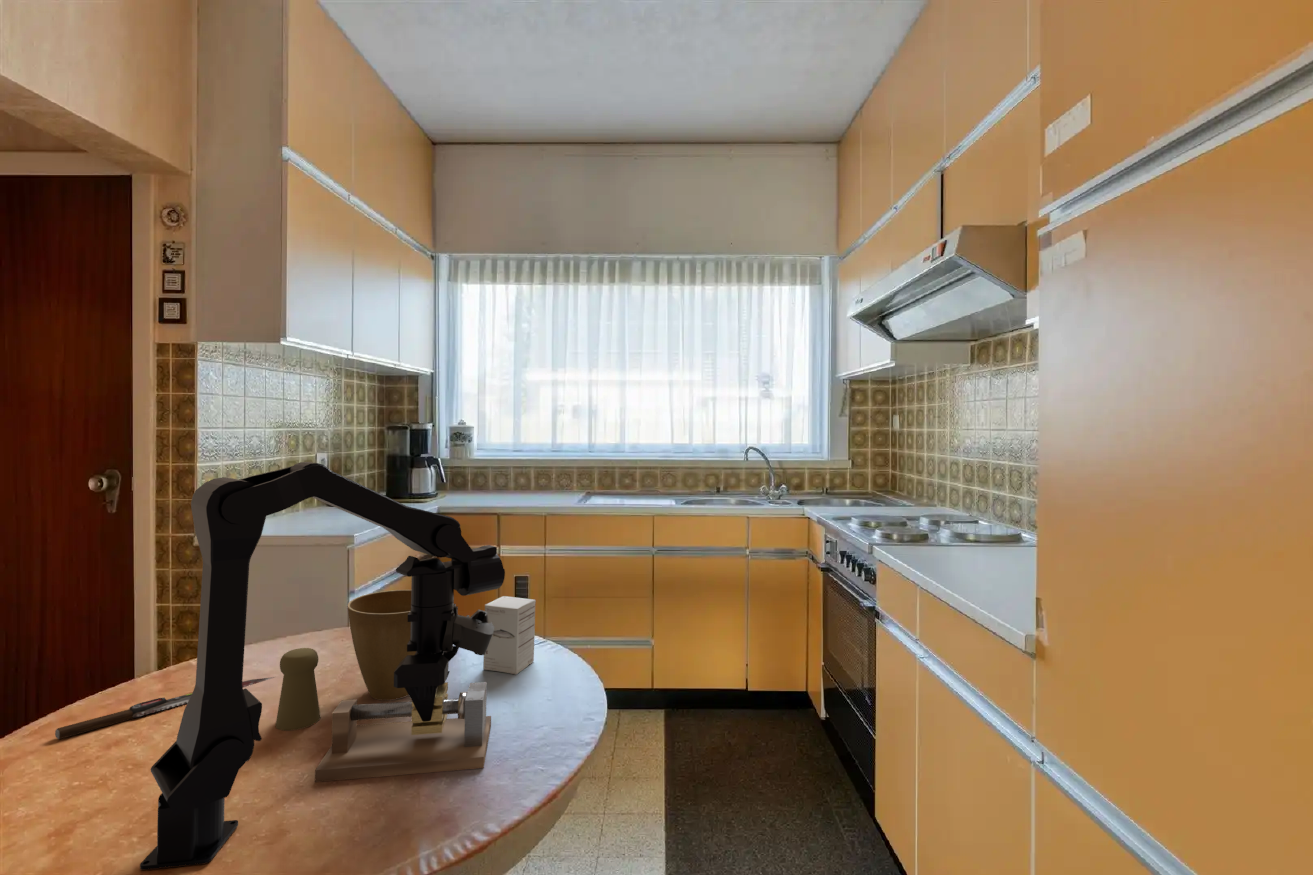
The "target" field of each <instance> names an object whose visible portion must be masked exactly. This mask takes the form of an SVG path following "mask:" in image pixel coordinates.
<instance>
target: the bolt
mask: <svg viewBox="0 0 1313 875" xmlns="http://www.w3.org/2000/svg"><path fill="white" fill-rule="evenodd" d="M487 685H488V684H487V681H482V682H470V683H469V686H468V689H467V691H461V692H459V694H458V698H448V699H444V701H443V704H442V705H443V715H445V714H447V715H456V714H457V718H458V720H461V719H465V736H464V747H473V746H482V744H483V739H484V734H485V728H486V716H487V696H488V694H487V690H488V689H487V687H488V686H487ZM434 706H440V705H434ZM412 709H413V707H412V700H411V701H397V702H382V703H379V702H378V703H365V704H364V703H363V704H357V705H353V706H352V708H351V714H350V719H351V721H354V720H357V721H365V720H368V721H369V720H379V719H380V720H382V719H396V718H399V719H401V718H412Z"/></svg>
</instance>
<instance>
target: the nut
mask: <svg viewBox="0 0 1313 875" xmlns="http://www.w3.org/2000/svg"><path fill="white" fill-rule="evenodd" d="M448 686H449V682H447V681H445V683H444V684H443V685H440V686H438V688H437V693H436V698H435V703H434V705H440V706H434V708H433V713H432V718H431V720H430V721H426V722H423V721H422V719H421V717H420V715H419V713H418V712H417V710H416V708H415V706H414V704H413V702H412V707H413V709H412V717H411V721H412V723H413V725H412V727H411V735H418V734H432V733H442V731H443V728H444V725H445V722H446V719H448V714H445V715H443V705H442V704H443V701H444V699H449V694H448V693H447V692H448V690H449V687H448Z"/></svg>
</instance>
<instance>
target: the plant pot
mask: <svg viewBox="0 0 1313 875" xmlns="http://www.w3.org/2000/svg"><path fill="white" fill-rule="evenodd" d="M410 611H411V589H394V590H385V591H384V590H383V591H377V592H371V593H366V594H363V595H359V596H358V597H355V598H353V599H351V600H350V601H349V602H348V603H347V613H348V621H349V629H350V634H351V639H352V644H353V650H354V653H355V657H356V660H357V664H358V668H359V670H360V673H361V677H362V678H363V681H364V684H365V687H366V689H367V692H368V694H369V697H371V698H372V699H374V700H379V701H393V700H398V699H402V698H405V697H407V696H409V695H408V693H407V691H406V689H405V688H396V687H394V671H395V670H396V668H397V667H398V665H399V663H400V662H401V661H402V660H403V659H404V658H405V657H406V656H407V655H415V653H416V651H412V652H407V644H408V642H409V641H410V636H411V622H408V614H409V612H410Z"/></svg>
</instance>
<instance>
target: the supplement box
mask: <svg viewBox="0 0 1313 875" xmlns="http://www.w3.org/2000/svg"><path fill="white" fill-rule="evenodd" d="M536 602H537V601H536V599H532V598H522V597H517V596H516V597H515V596H507V595H502V596H500V597H498V598H496V599H494V600H493V601H490V602H488V603H485V604H484V611H486V612H488V621H489V624H490V622H491V623H493V624H492V625H493V626H494V632H493V635H492V638H491V640H490V643H489V645H488V648H487V650H486V653H485V655H483V667H482V669H483V670H484V671H494V672H500V673H506V674H507V673H508V674H512V675H518V674H519V673H520V672H522V671H524V670H525V669H526V668H528V665H529V664H530V665H531V664H533V662H534V660H535V658H534V657H535V636H536V635H535V632H536V631H535V629H536ZM530 665H529V666H530Z"/></svg>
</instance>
